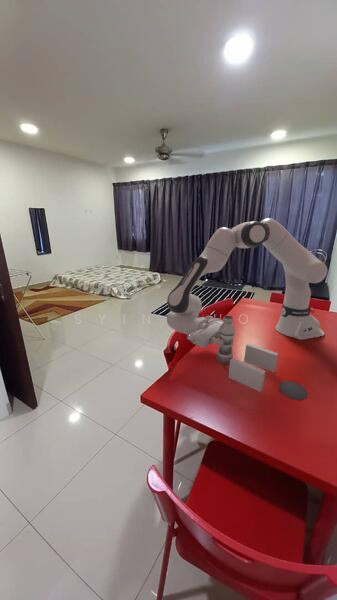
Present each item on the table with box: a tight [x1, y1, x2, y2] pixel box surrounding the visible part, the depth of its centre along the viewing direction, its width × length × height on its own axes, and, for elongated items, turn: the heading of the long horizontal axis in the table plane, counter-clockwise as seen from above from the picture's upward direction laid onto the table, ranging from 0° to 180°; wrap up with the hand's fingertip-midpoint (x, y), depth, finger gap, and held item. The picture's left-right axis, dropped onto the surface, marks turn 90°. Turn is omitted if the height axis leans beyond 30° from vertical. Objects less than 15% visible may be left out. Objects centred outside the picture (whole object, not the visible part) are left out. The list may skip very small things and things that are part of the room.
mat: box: [278, 380, 309, 401], centre depth 84 cm, size 9×9×1 cm
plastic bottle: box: [216, 315, 236, 365], centre depth 97 cm, size 6×7×20 cm
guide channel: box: [228, 342, 279, 393], centre depth 91 cm, size 12×16×8 cm
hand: (228, 338), depth 96 cm, fingers closed on plastic bottle, 6 cm apart
